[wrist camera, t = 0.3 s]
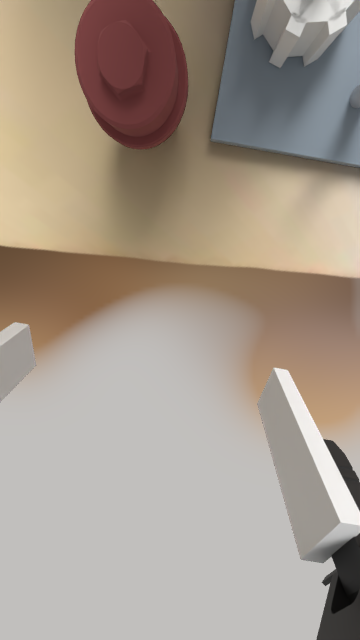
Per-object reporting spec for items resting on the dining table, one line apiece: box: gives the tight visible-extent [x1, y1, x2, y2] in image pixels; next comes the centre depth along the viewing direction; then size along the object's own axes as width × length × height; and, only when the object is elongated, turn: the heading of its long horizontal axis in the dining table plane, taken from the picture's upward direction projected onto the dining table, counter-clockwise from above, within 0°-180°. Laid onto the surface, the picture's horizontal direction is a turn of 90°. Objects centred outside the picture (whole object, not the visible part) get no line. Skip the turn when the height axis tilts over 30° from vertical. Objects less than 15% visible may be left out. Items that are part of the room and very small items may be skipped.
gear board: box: [210, 0, 360, 168], centre depth 21 cm, size 18×22×10 cm
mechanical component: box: [75, 0, 188, 149], centre depth 23 cm, size 12×10×10 cm
